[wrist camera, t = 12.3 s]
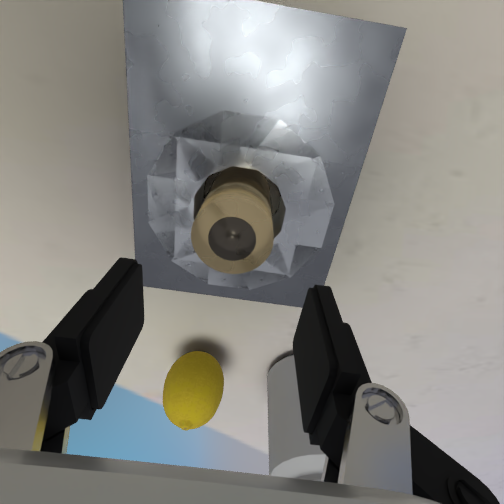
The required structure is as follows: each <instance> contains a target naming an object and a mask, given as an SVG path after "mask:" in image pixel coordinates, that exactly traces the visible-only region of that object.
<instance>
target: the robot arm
mask: <svg viewBox="0 0 504 504" xmlns="http://www.w3.org/2000/svg"><path fill="white" fill-rule="evenodd" d="M143 324H144V299H143V271H142V265H141V264H138V262H137V260H135V259H128V258H119V259H118V260H117V262H116V263H115V264H114V265H113V266H112V267H111V269H110V270H109V271H108V272H107V273H106V275H105V276H104V277H103V278H102V279H101V281H100V282H99V283H98V284H97V285H96V286H95V288H94V289H90V290H88V291H87V292H86V293H85V294H84V295H83V296H82V297H81V298H80V299H79V301H78V302H77V303H76V304H75V305H74V306H73V308H72V309H71V310H70V311H69V312H68V313H67V314H66V316H65V317H64V318H63V319H62V320H61V321H60V323H59V324H58V325H57V326H56V327H55V328H54V330H53V331H52V332H51V333H50V334H49V335H48V336H47V338H46V339H45V340H44V341H43V342H37V341H34V342H24V343H20V344H16V345H14V346H11V347H9V348H7V349H5V350H3V351H2V352H0V504H500V503H499V502H498V500H497V498H496V497H495V496H494V494H493V493H492V492H491V491H490V490H489V488H488V487H487V486H486V485H485V484H483V483H482V482H481V481H480V480H479V479H478V478H477V477H475V476H474V475H473V474H472V473H470V472H469V471H468V470H466V469H465V468H464V467H463V466H461V465H460V464H459V463H458V462H456V461H455V460H454V459H452V458H451V457H450V456H449V455H447V454H446V453H445V452H444V451H442V450H441V449H440V448H438V447H437V446H436V445H435V444H433V443H432V442H431V441H430V440H428V439H427V438H426V437H424V436H423V435H422V434H421V433H419V432H418V431H417V430H416V429H414V428H413V427H412V426H411V425H410V421H409V414H408V410H407V408H406V406H405V404H404V402H403V401H402V400H401V399H400V398H399V397H398V395H396V394H395V393H394V392H393V391H391V390H390V389H388V388H386V387H384V386H382V385H379V384H376V383H372V382H371V380H370V377H369V374H368V372H367V369H366V366H365V364H364V361H363V359H362V356H361V353H360V351H359V348H358V345H357V343H356V340H355V337H354V335H353V332H352V329H351V327H350V325H349V324H348V323H343V321H342V318H341V315H340V313H339V310H338V307H337V304H336V301H335V298H334V296H333V293H332V290H331V288H330V287H329V286H323V285H314V287H313V288H309V289H308V291H307V295H306V298H305V302H304V305H303V308H302V312H301V315H300V319H299V322H298V325H297V329H296V332H295V336H294V339H293V352H294V360H295V368H296V377H297V385H298V393H299V401H300V409H301V417H302V425H303V431H304V433H309V440H310V445H319V446H320V450H321V451H322V452H323V453H324V454H325V455H326V458H325V463H324V468H323V473H322V478H321V481H313V480H305V479H296V478H287V477H278V476H269V475H260V474H251V473H242V472H233V471H224V470H214V469H205V468H196V467H187V466H177V465H167V464H158V463H149V462H139V461H130V460H119V459H110V458H100V457H90V456H81V455H70V454H66V452H67V445H68V438H69V430H70V426H71V425H72V424H74V423H76V422H77V421H78V419H88V420H91V419H92V417H93V415H94V413H95V411H96V409H102V407H103V406H104V404H105V402H106V400H107V398H108V396H109V394H110V392H111V390H112V388H113V386H114V384H115V382H116V380H117V378H118V376H119V374H120V372H121V370H122V368H123V366H124V364H125V362H126V360H127V358H128V356H129V354H130V352H131V350H132V348H133V346H134V344H135V342H136V340H137V338H138V336H139V334H140V332H141V330H142V327H143Z"/></svg>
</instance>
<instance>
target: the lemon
mask: <svg viewBox="0 0 504 504" xmlns="http://www.w3.org/2000/svg"><path fill="white" fill-rule="evenodd" d="M223 386H224V377H223V372H222V369H221V366H220V364H219V363H218V361H217V360H216V359H215V358H214V357H213V356H212V355H210V354H208V353H206V352H202V351H193V352H189V353H187V354H185V355H183V356H181V357H180V358H179V359H178V360H177V361H176V362H175V363H174V364H173V365H172V367H171V369H170V371H169V372H168V374H167V377H166V380H165V384H164V390H163V407H164V410H165V413H166V415H167V417H168V418H169V420H170V421H171V422H172V423H173V424H174V425H176V426H178V427H180V428H181V429H183V430H189V429H195V428H198V427H200V426H202V425H204V424H206V423H207V422H208V421H209V420H210V419H211V418H212V417H213V416H214V414H215V412H216V410H217V408H218V406H219V404H220V401H221V398H222V394H223Z"/></svg>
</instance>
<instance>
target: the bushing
mask: <svg viewBox="0 0 504 504" xmlns="http://www.w3.org/2000/svg"><path fill="white" fill-rule="evenodd" d="M191 241H192V245H193V248H194V250H195V252H196V254H197V255H198V257H199V258H200V259H201V260H202V261H203V262H204V263H205V264H206V265H207V266H209V267H211V268H212V269H214V270H216V271H219V272H222V273H227V274H241V273H246V272H249V271H252V270H254V269H256V268H257V267H259V266H260V265H261V264H262V263H263V262H265V260H266V259H267V258H268V256H269V255H270V253H271V250H272V247H273V242H274V233H273V222H272V211H271V200H270V190H269V185H268V183H267V180H266V179H265V177H264V176H263V175H262V174H261V173H260V172H259V171H258V170H254V169H248V168H241V167H235V166H231V167H229V168H226V169H224V170H223V171H221V172H220V173H219V174H218V176H217V177H216V179H215V181H214V183H213V185H212V187H211V189H210V190H209V192H208V194H207V196H206V198H205V200H204V202H203V204H202V206H201V208H200V210H199V212H198V214H197V216H196V218H195V220H194V222H193V225H192V229H191Z"/></svg>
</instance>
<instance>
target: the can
mask: <svg viewBox="0 0 504 504" xmlns="http://www.w3.org/2000/svg"><path fill="white" fill-rule="evenodd" d="M267 391H268V437H269V476H278V477H287V478H296V479H305V480H313V481H321V478H322V473H323V468H324V463H325V458H326V455H325V454H324V453H323V452H322V451H321V450H320V446H319V445H310V440H309V433H304V431H303V425H302V417H301V409H300V401H299V393H298V385H297V377H296V368H295V360H294V355H290V356H287V357H285V358H284V359H282V360H281V361H279V362H277V363H276V364H275V365H274V366H273V367H272V368H271V369H270V371H269V373H268V376H267Z"/></svg>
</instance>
